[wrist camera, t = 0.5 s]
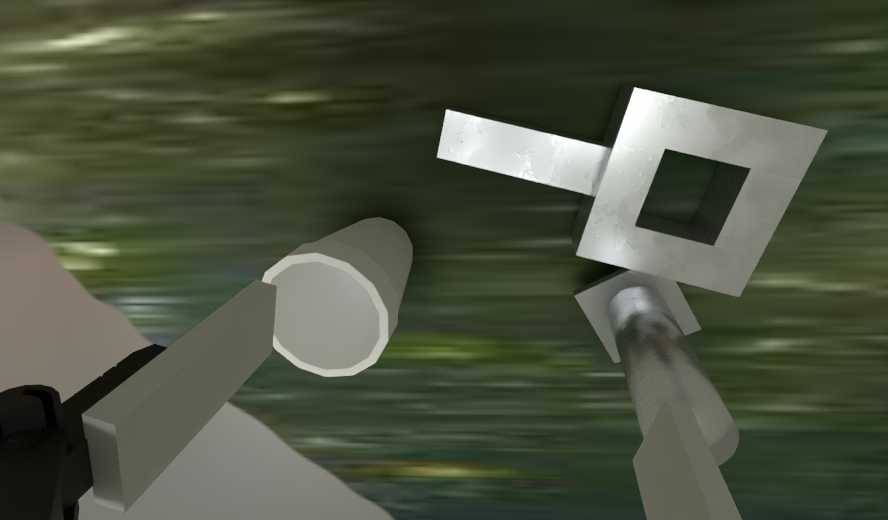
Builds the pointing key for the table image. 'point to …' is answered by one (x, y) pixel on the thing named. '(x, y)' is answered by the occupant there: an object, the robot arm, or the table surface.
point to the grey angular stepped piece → (655, 226)
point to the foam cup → (341, 297)
